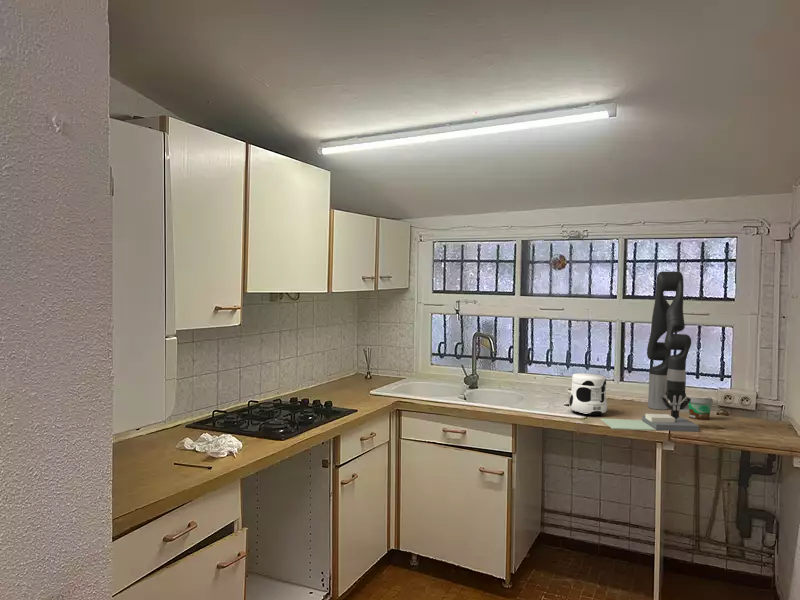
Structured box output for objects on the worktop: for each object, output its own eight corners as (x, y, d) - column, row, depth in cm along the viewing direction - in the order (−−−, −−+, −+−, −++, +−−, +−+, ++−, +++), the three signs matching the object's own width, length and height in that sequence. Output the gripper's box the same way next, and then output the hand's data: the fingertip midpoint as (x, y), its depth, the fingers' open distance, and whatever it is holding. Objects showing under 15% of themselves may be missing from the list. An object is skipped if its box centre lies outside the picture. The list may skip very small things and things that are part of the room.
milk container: (578, 407, 296) (579, 371, 295) (612, 413, 284) (613, 376, 284) (562, 413, 283) (563, 375, 282) (598, 419, 271) (599, 380, 271)
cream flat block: (645, 418, 265) (645, 413, 265) (667, 418, 265) (668, 414, 265) (651, 422, 258) (651, 417, 258) (674, 422, 258) (674, 418, 258)
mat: (600, 419, 271) (600, 418, 271) (640, 421, 270) (640, 419, 270) (612, 429, 254) (612, 427, 254) (655, 430, 253) (655, 429, 253)
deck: (642, 421, 270) (642, 415, 270) (682, 422, 269) (682, 417, 269) (656, 430, 254) (656, 424, 254) (698, 431, 253) (699, 426, 253)
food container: (696, 421, 273) (697, 399, 273) (686, 418, 279) (687, 396, 278) (718, 420, 276) (719, 398, 276) (708, 417, 282) (709, 396, 282)
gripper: (687, 378, 264) (686, 417, 265) (657, 377, 264) (656, 416, 265) (695, 381, 257) (693, 421, 257) (664, 380, 257) (663, 420, 257)
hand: (674, 418), depth 261 cm, fingers closed
